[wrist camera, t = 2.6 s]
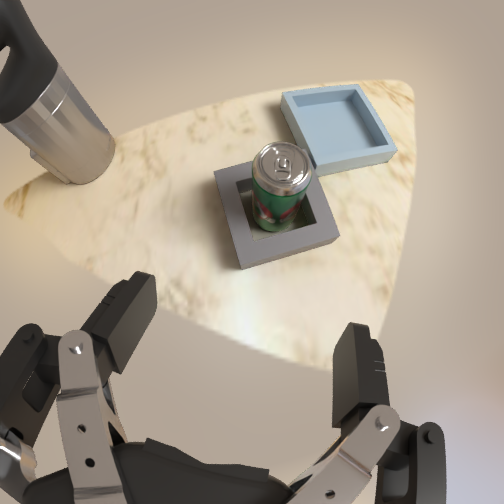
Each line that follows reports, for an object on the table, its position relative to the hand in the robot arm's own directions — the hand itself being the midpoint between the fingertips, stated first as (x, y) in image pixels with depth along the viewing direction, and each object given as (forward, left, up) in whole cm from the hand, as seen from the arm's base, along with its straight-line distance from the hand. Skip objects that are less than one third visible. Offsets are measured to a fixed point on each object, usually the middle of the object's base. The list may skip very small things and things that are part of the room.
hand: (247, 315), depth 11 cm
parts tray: (+18, +19, -20) cm, 33 cm away
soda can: (+6, +10, -21) cm, 24 cm away
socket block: (+6, +10, -20) cm, 24 cm away
